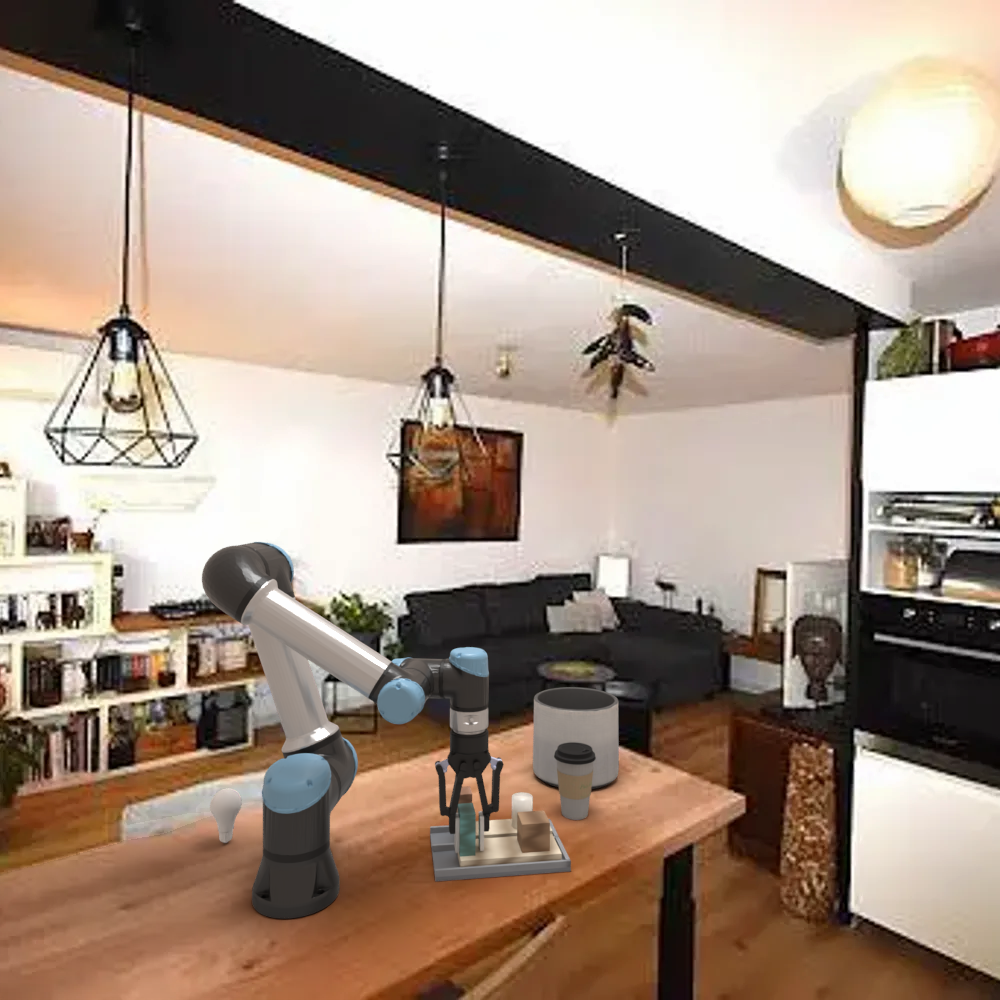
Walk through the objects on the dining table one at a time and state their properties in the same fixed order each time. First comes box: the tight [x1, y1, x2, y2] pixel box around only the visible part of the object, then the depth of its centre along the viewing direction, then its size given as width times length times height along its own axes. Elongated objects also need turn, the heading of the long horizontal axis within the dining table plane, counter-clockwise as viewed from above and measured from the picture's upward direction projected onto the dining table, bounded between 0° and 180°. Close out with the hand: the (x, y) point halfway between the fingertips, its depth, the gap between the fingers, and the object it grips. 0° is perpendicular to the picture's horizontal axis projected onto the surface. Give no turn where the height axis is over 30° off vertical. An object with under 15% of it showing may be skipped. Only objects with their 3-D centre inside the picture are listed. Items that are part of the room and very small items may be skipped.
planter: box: [532, 686, 620, 790], centre depth 184 cm, size 22×22×20 cm
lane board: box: [429, 818, 572, 882], centre depth 144 cm, size 26×18×2 cm
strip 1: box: [456, 785, 552, 839], centre depth 149 cm, size 20×6×10 cm, turn 99°
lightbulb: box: [209, 787, 243, 844], centre depth 147 cm, size 6×6×11 cm
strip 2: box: [457, 802, 562, 867], centre depth 140 cm, size 20×8×10 cm, turn 99°
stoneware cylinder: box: [511, 791, 534, 829], centre depth 149 cm, size 4×4×6 cm
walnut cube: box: [517, 810, 550, 853], centre depth 141 cm, size 6×6×6 cm
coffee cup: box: [554, 742, 596, 821], centre depth 161 cm, size 9×9×15 cm
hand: (469, 848), depth 139 cm, fingers closed on strip 2, 4 cm apart
